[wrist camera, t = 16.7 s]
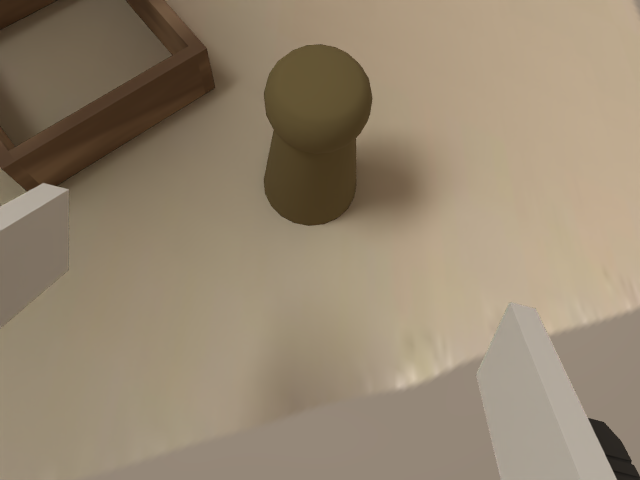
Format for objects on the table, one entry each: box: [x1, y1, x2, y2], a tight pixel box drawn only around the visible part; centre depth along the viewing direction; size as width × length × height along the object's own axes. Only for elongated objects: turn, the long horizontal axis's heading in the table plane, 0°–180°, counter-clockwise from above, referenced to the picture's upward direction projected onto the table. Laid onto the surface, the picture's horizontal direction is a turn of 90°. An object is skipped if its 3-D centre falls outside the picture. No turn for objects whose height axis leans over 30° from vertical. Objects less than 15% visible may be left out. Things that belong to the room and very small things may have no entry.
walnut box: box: [0, 0, 215, 192], centre depth 33 cm, size 14×14×4 cm
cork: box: [264, 44, 372, 225], centre depth 28 cm, size 6×6×11 cm
